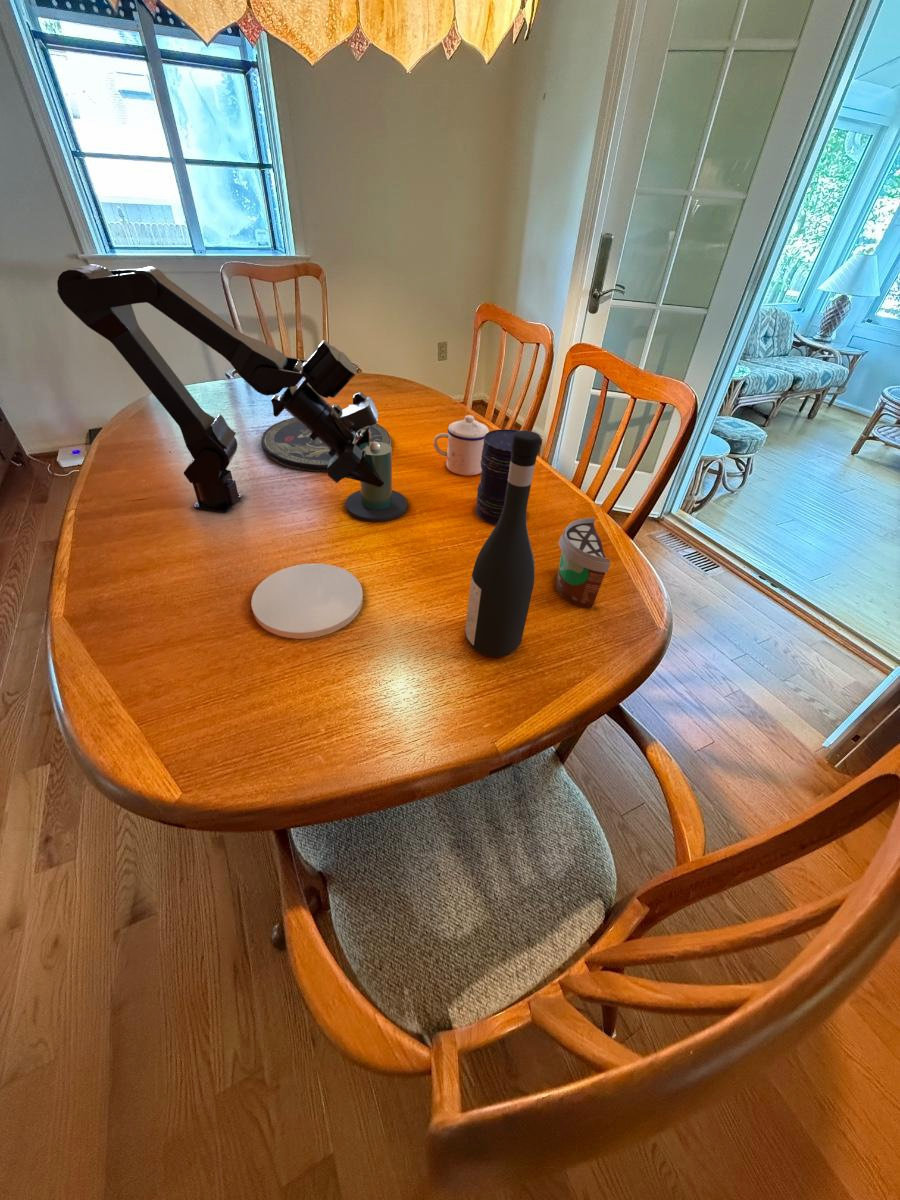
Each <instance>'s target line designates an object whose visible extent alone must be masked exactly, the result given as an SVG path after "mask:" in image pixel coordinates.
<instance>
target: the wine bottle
mask: <svg viewBox="0 0 900 1200" xmlns="http://www.w3.org/2000/svg"><path fill="white" fill-rule="evenodd" d="M541 445H542V436H541V435H540V434H539V433H537V432H535V431H532V430H527V429H525V430H524V429H523V430H522V429H521V430H517V432H515V433H514V434H513V437H512V443H511V450H512V451H511V460H510V467H509V474H508V481H507V488H506V495H505V501H504V506H503V510H502V513H501V516H500V518H499V521H498V522H497V524H496V525H494V527H493V529H492V531H491V533H490V534H489V536H488V537H487V539H486V540H485V542H484V543H483V545H482V547H481V549H480V550H479V553H478V555H477V557H476V559H475V562H474V566H473V569H472V573H471V578H470V585H469V594H468V595H469V596H468V604H467V612H466V619H465V620H466V622H465V629H464V634H465V639H466V641H467V643H468V645H469V646H470V647H471V649H473V651H475V652H477V653H479V655H482V656H486V657H488V658H489V657H491V658H502V657H507V656H509V655H511V654H512V653H514V652H516V651H517V650H518V648H519V647H520V645H521V643H522V639H523V636H524V632H525V628H526V627H525V626H526V623H527V618H528V613H529V609H530V605H531V601H532V595H533V592H534V587H535V579H536V577H535V576H536V575H535V574H536V563H535V557H534V553H533V548H532V544H531V541H530V536H529V532H528V525H527V524H528V523H527V509H528V503H529V499H530V498H529V497H530V492H531V487H532V483H533V477H534V472H535V468H536V463H537V462H536V461H537V457H538V454H539V453H540V450H541Z"/></svg>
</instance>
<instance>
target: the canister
mask: <svg viewBox="0 0 900 1200" xmlns="http://www.w3.org/2000/svg"><path fill="white" fill-rule="evenodd" d="M359 449H360V450H361V452H362V451H363V450H364V449H365V450H366V461H367V462H368V463H369V465H370V466H371V467H372V468H373V469H374V471H375V472H376V473H377V474H378V475H379V477H380V478H381V479H382V480H383V482H384V484H383V485H382V486H381V487H378V486H375V485H371V484H368V483H365V482H361V481H359V484H360V486H359V488H360V490H361V503H362V505H363V506H364V507H365V508H368V509H371V510H383V509H386V508H388V507H390V506H391V505H392V490H393V447H392V445H391V446H390V445H388V444H386V443H383V442H367V443H363V444H361V445H360V446H359Z"/></svg>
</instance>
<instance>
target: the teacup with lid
mask: <svg viewBox="0 0 900 1200" xmlns="http://www.w3.org/2000/svg"><path fill="white" fill-rule="evenodd" d="M488 432H490V430H489V427H488V426H487V425H486V424H484V423H482V422H479V421H478V420H476V419H475V416H474V415H471V414H467V415H465V417H464V419H461V420H456V421H454V422H451V423H450V424H449V425H448V428H447V433H446V432H441V433H438V434H437V435H436V436H434V439H433V447H434V450H435V451H436V452H437V454H438V455H440V456H443V457H446V469H448V470H449V471H450V472H451V473H453V474H456V475H458V476H459V475H460V476H466V477H467V476H468V477H469V476H477V475H479V474H481V472H482V468H481V459H482V458H481V456H482V449H483V444H484V436H485V434H487V433H488ZM441 438H445V439H447V450H446V451H443V450H441V449H440V447H439V445H438V440H439V439H441Z"/></svg>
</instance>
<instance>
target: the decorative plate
mask: <svg viewBox="0 0 900 1200" xmlns="http://www.w3.org/2000/svg"><path fill="white" fill-rule="evenodd" d="M368 427H369V428H370V442H383V443H386V444H388V445H390V446H391V447H392V438H391V435H390V434H389V431H388V430H387V429H386V428H384V426H382V425H380V424H378V422H377V423H376V424H374V425H372V426H367V427H364V428H362V429H360V430H362V431H363V432H364V431H365V430H366V429H367V428H368ZM360 430H359V431H360ZM310 433H311V432H310V431H309V430H308V429H307V428H306V427H304V426H303V425H302V424H301V423H300V422H299V421H298V420H297V419H296V418H294V417H293V416H292V417H290V418H287V419H284V420H281V421H279V422H276V423H274V424H273V425H271V426H269V427H268V428H267V429H266V430H265V431H264V432H263V434H262V435H261V437H260V444H261V445H260V447H261V449H262V451H263V454H265V455H266V456H267V457H268V458H269V459H270V460H272V461H274V462H276V463H277V464H279V465H283V466H285V467H289V468H292V469H296V470H301V471H307V472H308V471H309V472H324V473H325V472H327V467H328V464H329V461H330V459H331V458H332V456H331V455H329V454H328V451H329V448H328V447H327V446H326V445H324V444H323V443H322V442H321V441H320V440H319V439H318V438H316V439H315V440H313V439H311V438H310V437H309V435H310Z"/></svg>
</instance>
